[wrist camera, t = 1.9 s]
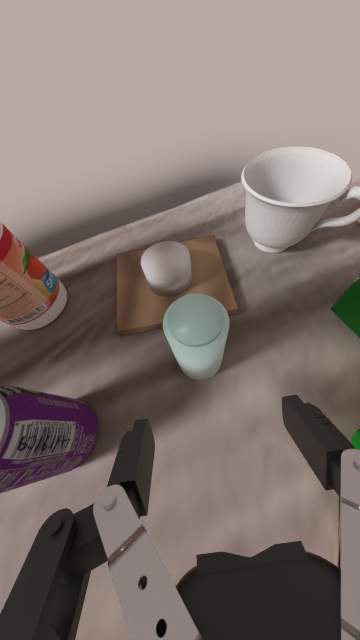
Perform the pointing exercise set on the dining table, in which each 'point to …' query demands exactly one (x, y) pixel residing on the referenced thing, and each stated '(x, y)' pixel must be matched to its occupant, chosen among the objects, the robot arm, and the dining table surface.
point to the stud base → (154, 306)
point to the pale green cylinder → (197, 334)
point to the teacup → (294, 195)
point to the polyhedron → (356, 440)
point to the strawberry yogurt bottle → (27, 286)
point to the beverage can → (42, 435)
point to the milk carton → (350, 306)
